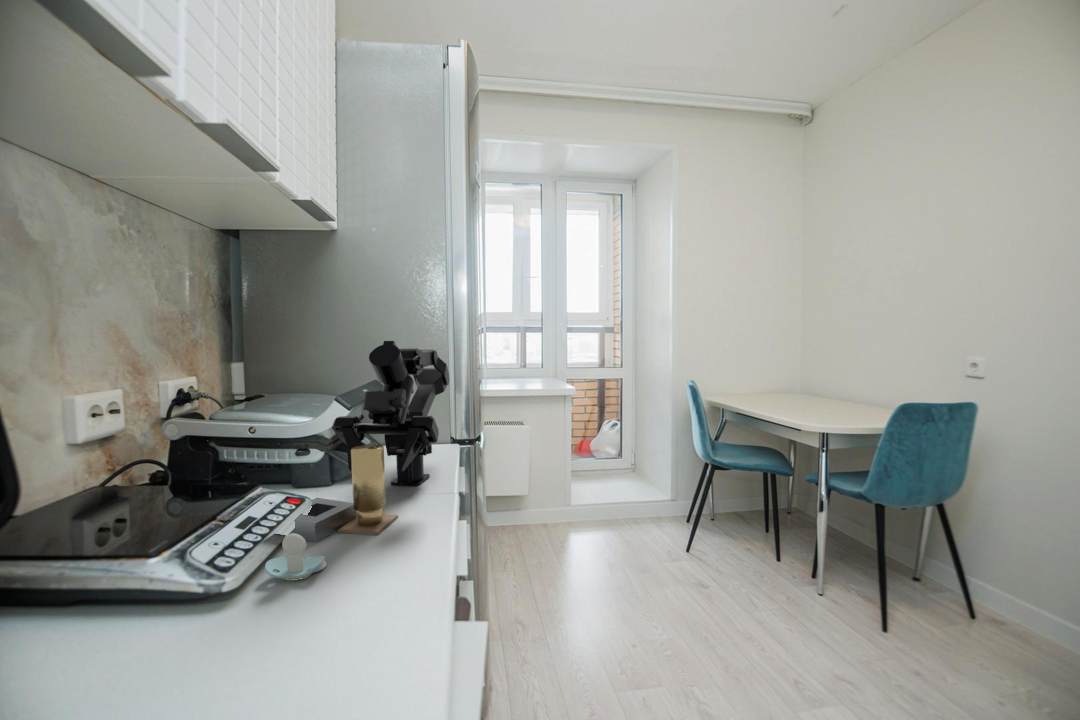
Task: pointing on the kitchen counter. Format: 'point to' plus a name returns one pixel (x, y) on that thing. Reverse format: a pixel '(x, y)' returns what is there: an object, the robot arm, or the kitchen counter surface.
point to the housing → (324, 519)
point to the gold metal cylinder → (368, 483)
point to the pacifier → (294, 560)
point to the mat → (376, 529)
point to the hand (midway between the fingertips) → (376, 470)
